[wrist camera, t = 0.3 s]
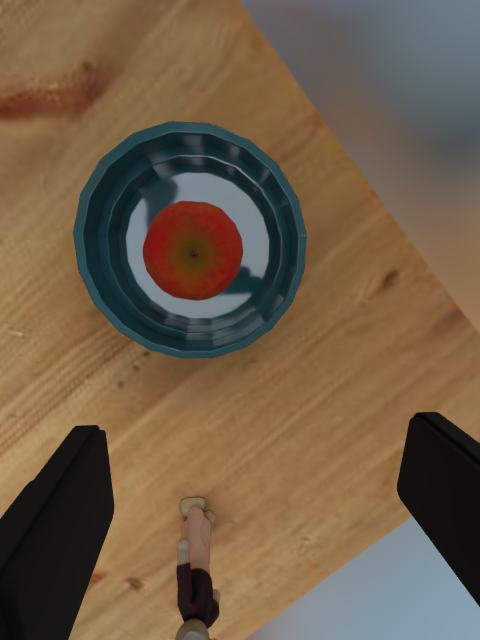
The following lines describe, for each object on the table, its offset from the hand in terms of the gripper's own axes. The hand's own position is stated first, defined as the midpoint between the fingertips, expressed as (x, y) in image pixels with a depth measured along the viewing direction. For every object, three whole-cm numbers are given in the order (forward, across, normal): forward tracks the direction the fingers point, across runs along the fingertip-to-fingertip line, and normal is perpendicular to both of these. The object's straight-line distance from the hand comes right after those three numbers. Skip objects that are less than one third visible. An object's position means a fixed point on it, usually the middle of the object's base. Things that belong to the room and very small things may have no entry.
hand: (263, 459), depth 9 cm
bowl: (+18, +3, -6) cm, 19 cm away
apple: (+17, +3, -6) cm, 18 cm away
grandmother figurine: (+18, +3, +22) cm, 29 cm away
